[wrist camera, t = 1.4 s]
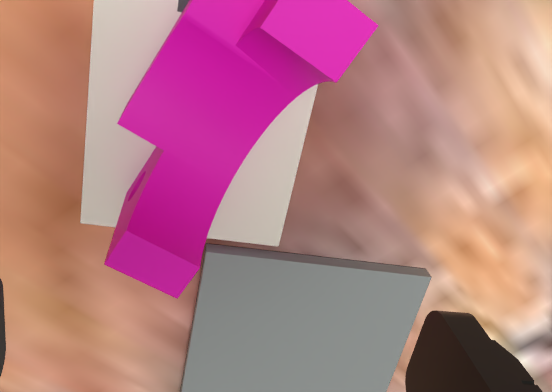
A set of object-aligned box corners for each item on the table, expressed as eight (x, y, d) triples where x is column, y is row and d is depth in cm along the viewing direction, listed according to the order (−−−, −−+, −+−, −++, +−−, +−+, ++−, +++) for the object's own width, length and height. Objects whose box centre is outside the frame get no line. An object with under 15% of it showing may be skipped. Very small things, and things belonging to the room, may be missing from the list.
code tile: (81, 221, 30) (80, 223, 30) (102, -128, 23) (101, -129, 23) (278, 244, 33) (278, 246, 33) (353, -65, 26) (354, -65, 25)
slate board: (166, 471, 41) (165, 483, 40) (206, 243, 32) (206, 251, 31) (345, 476, 44) (348, 487, 43) (425, 268, 35) (431, 277, 34)
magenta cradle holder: (233, -74, 24) (245, -82, 18) (334, 5, 27) (378, 25, 20) (85, 171, 29) (50, 239, 22) (183, 222, 31) (177, 298, 24)
